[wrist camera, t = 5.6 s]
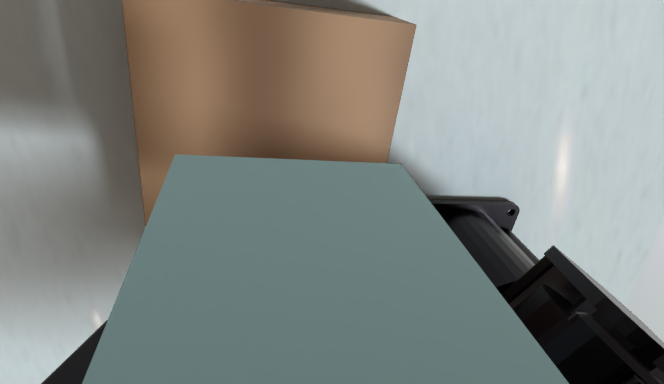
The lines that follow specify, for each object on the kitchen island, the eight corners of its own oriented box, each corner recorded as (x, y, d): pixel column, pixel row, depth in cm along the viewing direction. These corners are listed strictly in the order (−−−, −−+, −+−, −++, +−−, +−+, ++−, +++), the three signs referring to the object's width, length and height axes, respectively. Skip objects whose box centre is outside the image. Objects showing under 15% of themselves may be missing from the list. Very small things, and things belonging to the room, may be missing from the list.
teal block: (401, 163, 9) (669, 516, 3) (366, 319, 12) (488, 690, 6) (175, 154, 8) (-23, 641, 2) (186, 326, 11) (102, 794, 5)
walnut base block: (391, 15, 17) (416, 24, 15) (354, 212, 22) (369, 244, 19) (141, -18, 15) (120, -14, 13) (160, 208, 20) (147, 245, 17)
